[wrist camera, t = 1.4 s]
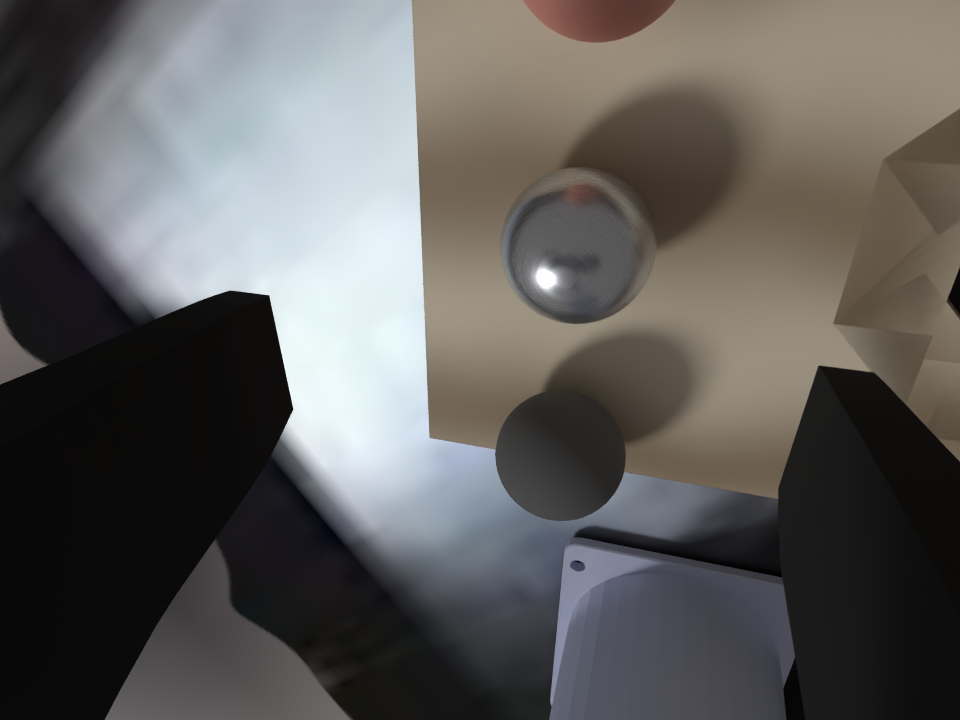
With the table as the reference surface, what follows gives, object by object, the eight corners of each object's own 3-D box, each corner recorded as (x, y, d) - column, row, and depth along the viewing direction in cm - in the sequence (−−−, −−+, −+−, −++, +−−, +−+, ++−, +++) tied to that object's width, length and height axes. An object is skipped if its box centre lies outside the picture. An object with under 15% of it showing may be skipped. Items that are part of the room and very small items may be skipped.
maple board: (1201, 510, 18) (1264, 584, 16) (454, 391, 23) (429, 437, 20) (1695, -171, 11) (1927, -194, 9) (446, -147, 15) (405, -159, 13)
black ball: (624, 474, 19) (611, 561, 17) (509, 454, 20) (480, 534, 17) (638, 376, 18) (626, 454, 15) (513, 358, 18) (481, 430, 16)
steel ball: (650, 293, 16) (640, 362, 14) (515, 277, 17) (481, 340, 14) (670, 154, 15) (663, 203, 12) (521, 143, 15) (483, 187, 13)
